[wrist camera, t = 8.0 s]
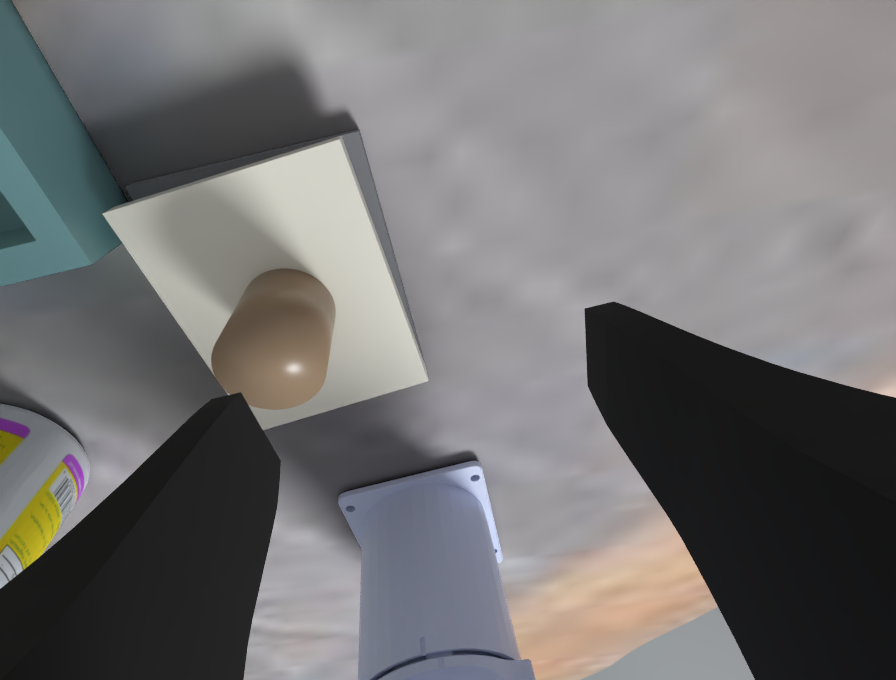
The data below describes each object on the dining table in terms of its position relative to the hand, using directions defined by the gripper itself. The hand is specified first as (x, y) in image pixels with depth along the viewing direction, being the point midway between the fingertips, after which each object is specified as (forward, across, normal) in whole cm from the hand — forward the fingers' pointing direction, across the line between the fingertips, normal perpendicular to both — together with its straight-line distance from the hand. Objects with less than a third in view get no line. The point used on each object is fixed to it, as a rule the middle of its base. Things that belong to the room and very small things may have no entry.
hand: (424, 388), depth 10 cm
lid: (+8, +4, +1) cm, 9 cm away
